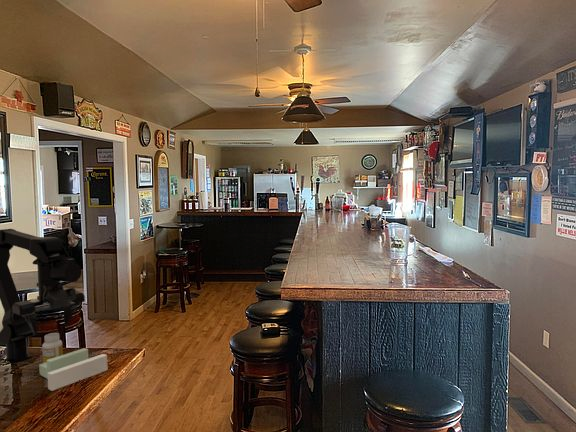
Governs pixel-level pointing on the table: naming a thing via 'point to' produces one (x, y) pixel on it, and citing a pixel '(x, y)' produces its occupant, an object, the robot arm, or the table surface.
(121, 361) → the table surface
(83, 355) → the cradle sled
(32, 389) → the table surface
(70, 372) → the backstop wall
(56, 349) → the supplement bottle
